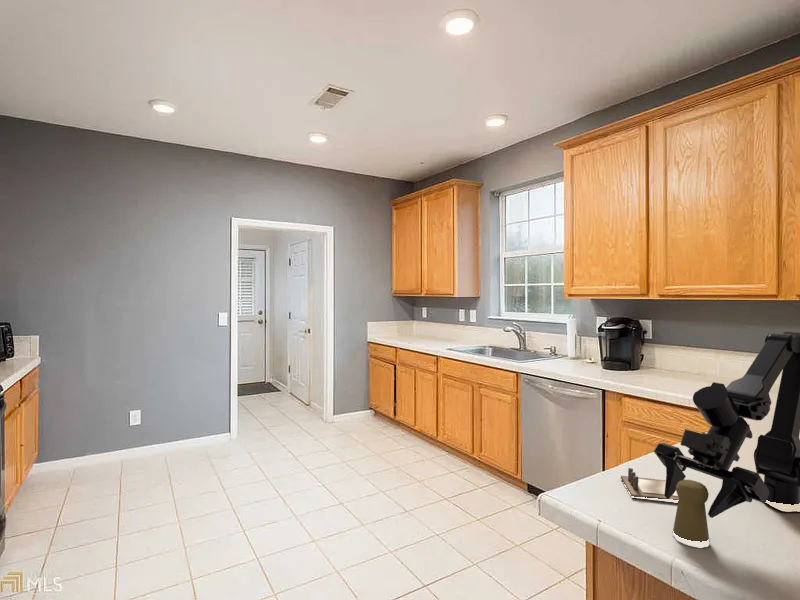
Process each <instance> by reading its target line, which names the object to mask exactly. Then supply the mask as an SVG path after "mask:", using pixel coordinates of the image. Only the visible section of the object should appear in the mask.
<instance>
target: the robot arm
mask: <svg viewBox="0 0 800 600" xmlns="http://www.w3.org/2000/svg"><path fill="white" fill-rule="evenodd" d="M780 374H781V378H780V381H779V386H778V387H779V388H778V392H777V398H776V403H775V408H774V413H773V418H772V423H771V427H770V429H769V431H767V433H765V434H759V436H758V437H757V445H756V447H755V449H754V451H753V459H754V460H753V461H754V465H755V470H756V471H753V470H750V469H748V468H747V469H746V468H744V467H740V466H734V467H733V468H732V469H731V471H730V468H731V467H732V464H733V462H736V463H737V462H739V460H740V459H741V458H740V455H739V454H738V453H739V451H740V449H741V448H742V445H743V444H744V442H745V440H746V438H747V439H753V432H752V430H751V426H750V424H749V423H748V422H747V420H746V419H748V420H750V421H751V420H752V421H762V420H763V419H764V418H765V417H766V416H768V415H769V412H770V410H771V405H772V399H771V397H770V391H771V389H772V387H773V386H774V384H775V383H776V381H777V379H778V377H779V376H780ZM692 402H693V404H694V405H695V407H696V409H697V410H698V411H699V414H701V416H702V417H703V419H704V420H705V422H706V423H707V424H709V425H710V427H709V430H708V431H707V433H706V432H702V433H701V432H697V431H694V430H689V429H684V431H683V434H682V437H681V441H680V446H683V447H684V446H685V448H688V450H687V452H688V454H689V455H691V456H693V458H691V457H688V456H685V454H684V453H683V452H682V451H681V449H680V448H679V447H678V446H675V445H671V444H668V443H664V442H661V443H658V444H657V445H656V446H655V448H654V450H653V453H654V454H655V455H656V457H657V458H658V459H659V461H660V462H661V464H662V465H663V466H664V467H665V468H666V469H665V470H666V471H665V472H666V473H665V475H666V477H665V480H666V484H665V494H664V496H665V497H666V498H667V499H669V498H670V497H671V496H672V495H673V494H674V492H675V491H676V485H677V483H678V482H679V481H681V480H686V477H687V476H686V474H685V473H684V472H685V471H686V470H687V468H688V469H691V470H693V471H696V472H699V473H701V474H702V473H703V474H705V475H707V476H710V477H713V478H717V479H719V480H722V481H721V482H722V483H721V488H720V490H719V491H718V493H717V495H716V497H715V498H714V500H713V501H712V503H711V506H710V507H709V509H708V511H707V512H708V513H707V515H708V517H709V518H711V519H713V518H715V517H717V516H718V515H720V514H722V513H724V512H725V511H726V512H727V510H729V509H731V508H734V507H735V506H738V505H740V504H743V503H745V502H747V503H752V502H753V501H756V502H760V503H762V504H765V502H766V500H768V501H770V502H776V503H783V504H791V505H794V504H799V503H800V331H789V330H788V331H784V332H783V333H776V332H774V333H772V332H771V333H768V334H767V335H766V336H765V340H764V345H762V348H761V349H760V350H759V352H758V354H757V355H756V357H755V358H754V360H753V361H752V363H751V365H750V366H749V367H748V369H747V370H746V373H745V374H744V375H743V376H742V377H740V378H738V379H734V380H733V381H731V382H729V384H728V385H727V386H725V384H724V383H720V382H712V383H711V385H709V386H705V387H701V388H700V389H698V390H696V391H695V392H694V394H693V396H692ZM761 475H763V478H762V476H761Z"/></svg>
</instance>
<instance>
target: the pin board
mask: <svg viewBox="0 0 800 600" xmlns="http://www.w3.org/2000/svg"><path fill="white" fill-rule="evenodd" d="M627 473H628V474H627V475H628V476H627V475H620V480H621V479H622V481H623V482H624V484H625V485H626V487H627V489H628V491H629V492H630V494H631V496H634V497H645V498H646V497H647V498H658V499H667V498H666V497H665V496H664V494H665V484H666V479H659V478H658V479H655V478H648V477H647V478H646V477H639V476H638V475H636V472H634V469H633V468H631V467H628V469H627ZM622 481H621V482H622ZM624 484H623V485H624ZM628 491H627V492H628ZM631 496H630V497H631ZM669 499H673V500H679V496H678V495H677V491H675V492H674V494H673V495H672V496H671V497H670V498H669Z"/></svg>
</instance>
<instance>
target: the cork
mask: <svg viewBox="0 0 800 600" xmlns="http://www.w3.org/2000/svg"><path fill="white" fill-rule="evenodd" d="M676 491H677V495H678V496H679V501H678V504H677V507H676V513H675V518H674V523H673V528H672V532H673V531H674V533H675V534H676V535H678V536H679V537H681V538H684V539H687V540H691V541H700V542H702V541H707V540H708V539H709V540H710V537H709V535H710V534H709V528H708V519H707V510H706V502H707V501H708V499H709V494H710V493H709V491H708V488H707V486H706V485H705V484H703V483H702V482H699V481H696V480H693V479H692V480H691V479H684V480H681V481H679V482H678V483H677V485H676Z"/></svg>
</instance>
